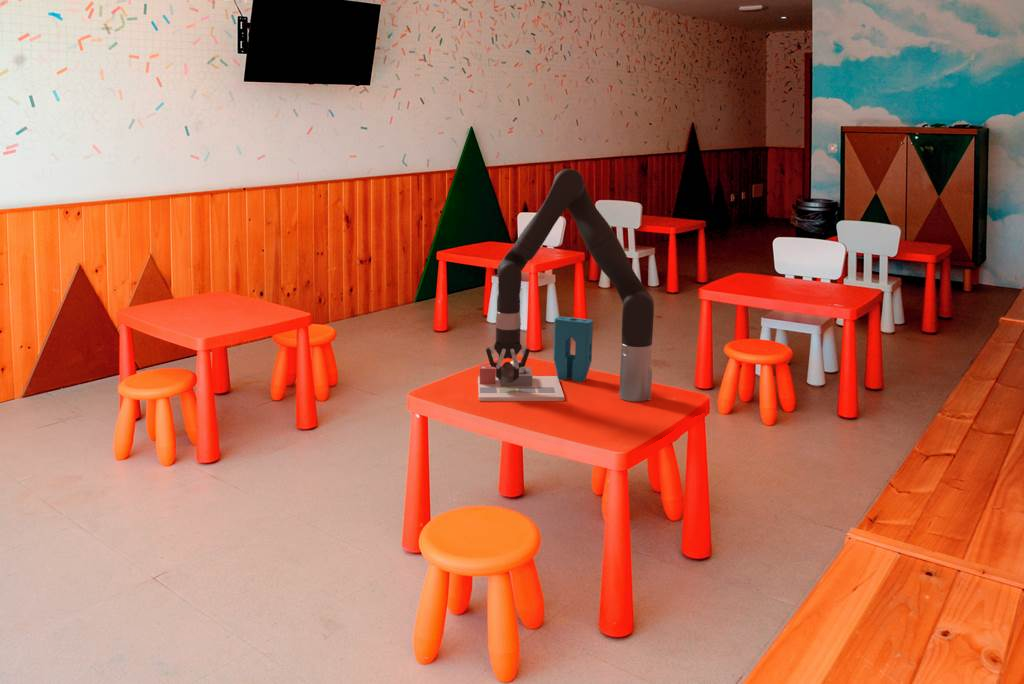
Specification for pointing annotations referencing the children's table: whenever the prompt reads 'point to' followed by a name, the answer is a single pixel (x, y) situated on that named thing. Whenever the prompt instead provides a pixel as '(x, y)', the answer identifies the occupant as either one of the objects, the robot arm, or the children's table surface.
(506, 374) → the pawn
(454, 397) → the children's table surface
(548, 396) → the game board
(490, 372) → the die
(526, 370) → the dome housing
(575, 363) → the block
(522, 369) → the dome
